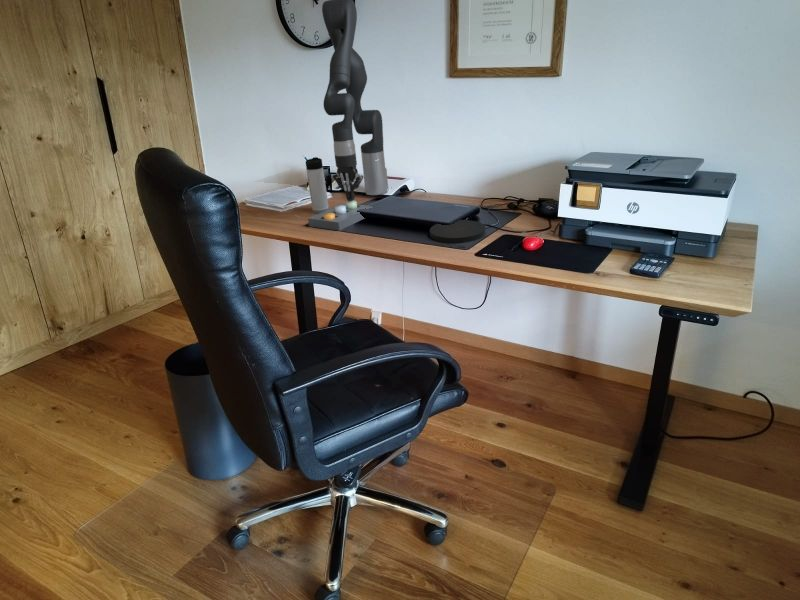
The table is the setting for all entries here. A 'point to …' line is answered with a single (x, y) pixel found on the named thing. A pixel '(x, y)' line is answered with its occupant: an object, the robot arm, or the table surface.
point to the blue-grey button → (340, 209)
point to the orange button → (329, 216)
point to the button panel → (337, 218)
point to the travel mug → (317, 185)
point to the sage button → (351, 205)
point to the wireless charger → (458, 232)
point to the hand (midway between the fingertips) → (350, 200)
